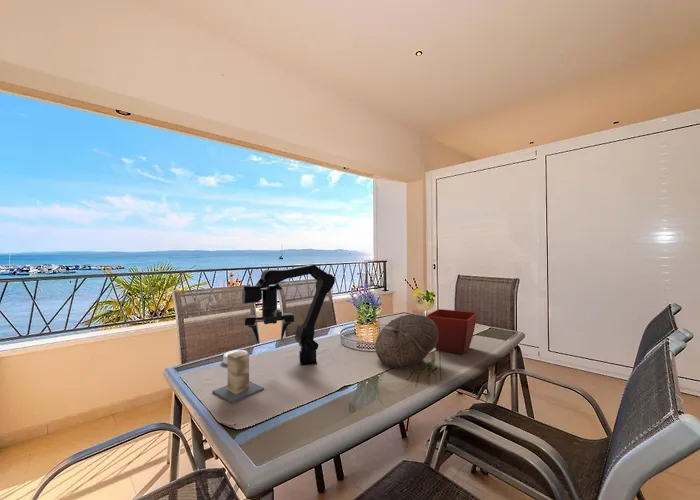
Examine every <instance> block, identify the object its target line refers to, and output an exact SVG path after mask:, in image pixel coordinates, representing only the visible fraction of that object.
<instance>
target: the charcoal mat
mask: <svg viewBox="0 0 700 500" xmlns="http://www.w3.org/2000/svg"><path fill="white" fill-rule="evenodd" d="M264 390H265V388H264V386H261V385H259V384H256V383H254V382H253V381H250V380H249V389H247V390H245V391H242V392H240V393H238V394H235V393H233V392H231V391H229V390H228V384H227V385H224V386H221V387H219V388H216V389H214V390H212V393H213V394H214V395H216V396H218V397H219V398H221V399H222V400H225V401H226V402H229V404H230V403H231V404H234V403H236V402H238V401H241V400H244V399H245V398H248V397H250V396H253V395H255V394H257V393H259V392H261V391H264Z"/></svg>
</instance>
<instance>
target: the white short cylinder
mask: <svg viewBox="0 0 700 500" xmlns="http://www.w3.org/2000/svg"><path fill="white" fill-rule="evenodd" d="M238 351H243V352H246V353H248V351H247V350H244V349H235V350H230V351H227V352H225V353H224V354H223V355H222V356H223V364H225V365H227V366H228V354H231V353H235V352H238Z"/></svg>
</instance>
